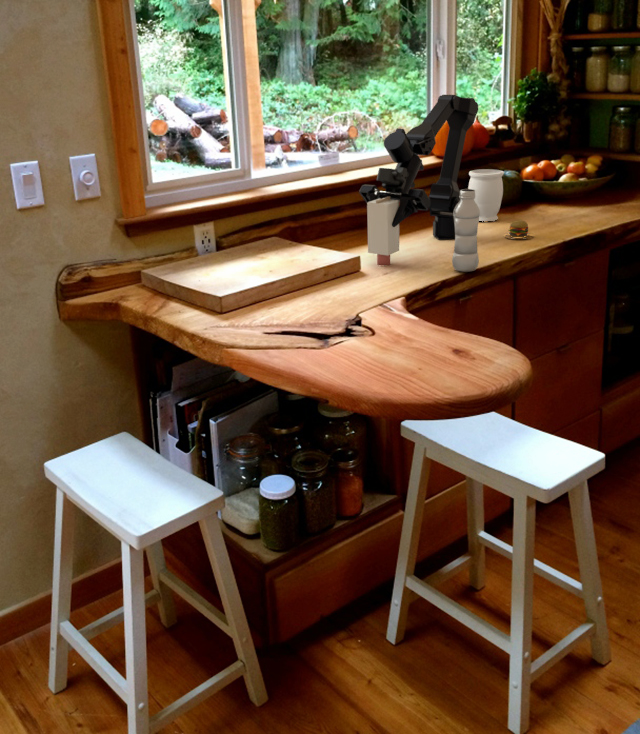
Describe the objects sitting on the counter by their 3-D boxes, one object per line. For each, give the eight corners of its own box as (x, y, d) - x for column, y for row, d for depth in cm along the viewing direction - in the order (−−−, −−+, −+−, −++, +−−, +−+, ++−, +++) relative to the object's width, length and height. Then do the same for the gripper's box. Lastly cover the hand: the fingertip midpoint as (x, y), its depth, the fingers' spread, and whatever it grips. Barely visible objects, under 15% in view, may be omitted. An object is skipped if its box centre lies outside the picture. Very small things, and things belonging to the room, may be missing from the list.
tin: (388, 262, 215) (388, 247, 213) (391, 265, 211) (391, 250, 210) (375, 262, 214) (375, 247, 213) (378, 266, 211) (378, 251, 210)
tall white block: (379, 247, 215) (379, 195, 210) (399, 250, 212) (399, 197, 207) (368, 252, 211) (367, 199, 206) (387, 255, 208) (387, 201, 203)
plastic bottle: (462, 276, 200) (465, 193, 192) (446, 270, 206) (448, 189, 198) (483, 272, 203) (487, 190, 195) (467, 266, 208) (469, 186, 201)
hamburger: (505, 245, 229) (506, 226, 227) (491, 236, 240) (492, 217, 238) (546, 242, 230) (547, 223, 228) (530, 233, 241) (531, 214, 239)
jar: (506, 218, 259) (508, 169, 253) (494, 224, 251) (496, 175, 245) (474, 215, 264) (476, 168, 259) (462, 221, 256) (463, 173, 251)
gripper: (362, 152, 211) (338, 203, 207) (425, 156, 201) (402, 210, 197) (379, 178, 220) (356, 227, 216) (440, 183, 210) (418, 235, 206)
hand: (382, 224), depth 209 cm, fingers closed on tall white block, 6 cm apart
